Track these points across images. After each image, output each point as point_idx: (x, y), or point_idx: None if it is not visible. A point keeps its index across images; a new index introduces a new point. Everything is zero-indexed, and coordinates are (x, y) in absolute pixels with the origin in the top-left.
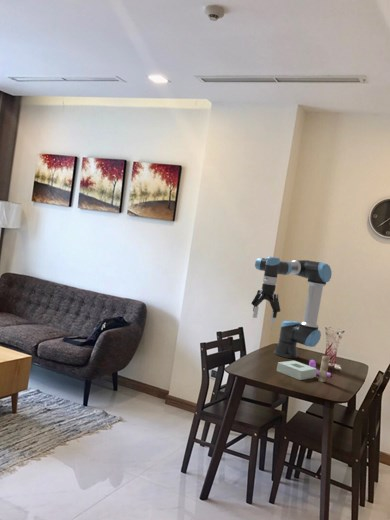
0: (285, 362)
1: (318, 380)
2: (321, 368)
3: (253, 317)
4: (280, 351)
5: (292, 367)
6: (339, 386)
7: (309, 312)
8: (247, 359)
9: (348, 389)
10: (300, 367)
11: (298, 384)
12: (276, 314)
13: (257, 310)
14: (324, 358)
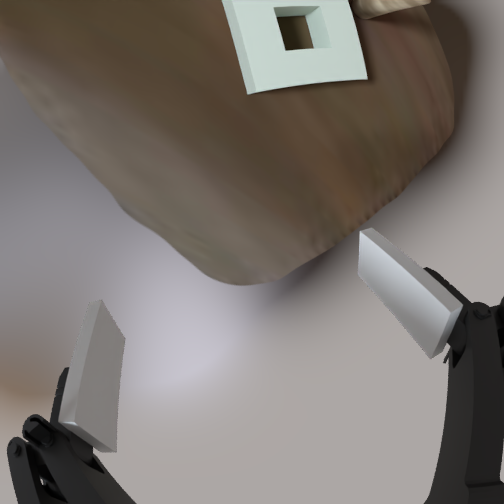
0: (257, 49)
1: (358, 16)
2: (390, 10)
3: (122, 340)
4: None
5: (327, 75)
6: None
7: None
8: (90, 145)
9: None
10: (294, 9)
11: (379, 124)
12: (456, 294)
13: (88, 379)
14: (422, 4)
